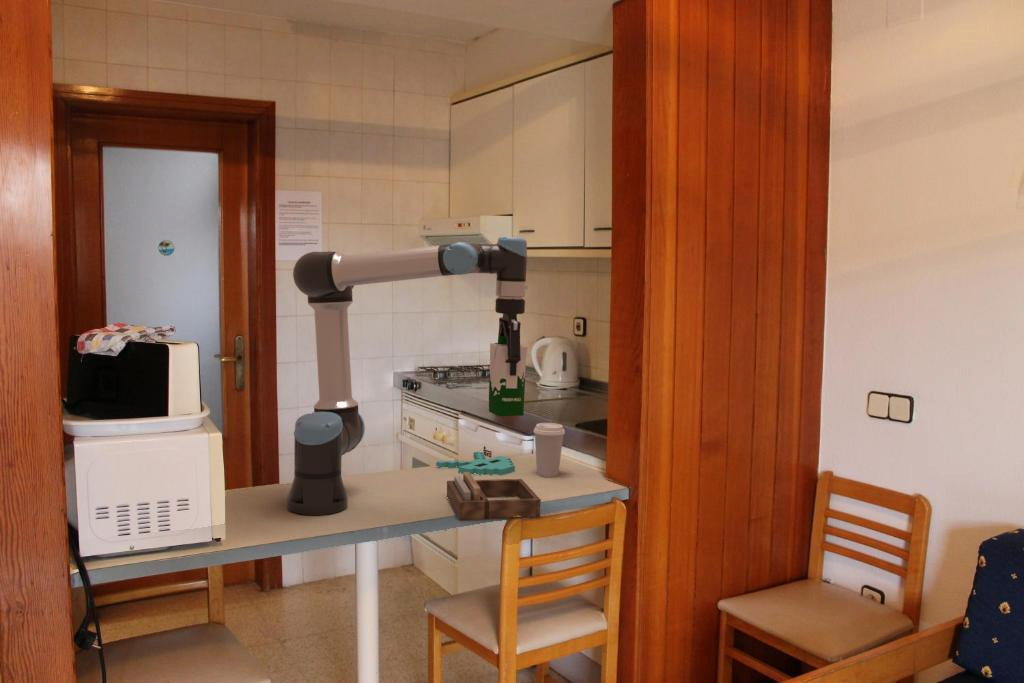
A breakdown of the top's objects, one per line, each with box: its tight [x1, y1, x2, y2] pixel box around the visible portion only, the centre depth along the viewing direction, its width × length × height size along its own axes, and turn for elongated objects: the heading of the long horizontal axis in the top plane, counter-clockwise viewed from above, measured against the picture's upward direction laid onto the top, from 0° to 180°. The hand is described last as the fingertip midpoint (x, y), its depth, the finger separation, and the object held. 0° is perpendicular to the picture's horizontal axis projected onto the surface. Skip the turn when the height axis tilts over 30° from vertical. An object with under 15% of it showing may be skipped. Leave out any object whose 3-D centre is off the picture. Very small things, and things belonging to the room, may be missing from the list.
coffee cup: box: [533, 422, 566, 478], centre depth 263 cm, size 10×10×15 cm
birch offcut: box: [462, 472, 480, 501], centre depth 226 cm, size 2×16×8 cm, turn 13°
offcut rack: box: [446, 478, 542, 521], centre depth 228 cm, size 21×20×4 cm
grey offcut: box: [453, 475, 471, 501], centre depth 226 cm, size 2×16×6 cm, turn 13°
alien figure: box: [435, 451, 516, 476], centre depth 269 cm, size 20×2×20 cm
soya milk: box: [488, 335, 529, 417], centre depth 225 cm, size 9×9×20 cm
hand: (507, 385), depth 225 cm, fingers closed on soya milk, 9 cm apart
